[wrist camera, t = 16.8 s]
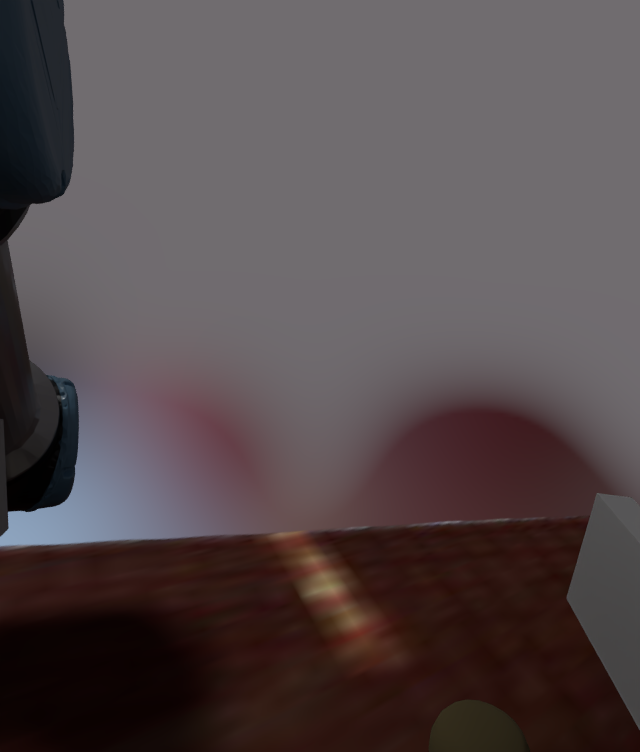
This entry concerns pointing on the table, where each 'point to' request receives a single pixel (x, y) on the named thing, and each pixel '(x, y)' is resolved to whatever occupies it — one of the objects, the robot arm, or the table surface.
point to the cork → (476, 730)
